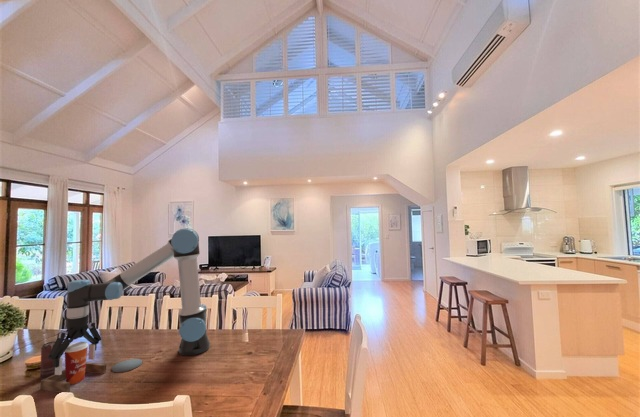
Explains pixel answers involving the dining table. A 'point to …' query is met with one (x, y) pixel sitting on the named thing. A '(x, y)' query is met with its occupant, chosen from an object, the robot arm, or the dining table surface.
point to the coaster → (127, 365)
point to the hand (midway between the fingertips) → (75, 366)
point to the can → (46, 361)
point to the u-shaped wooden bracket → (56, 380)
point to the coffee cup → (75, 362)
